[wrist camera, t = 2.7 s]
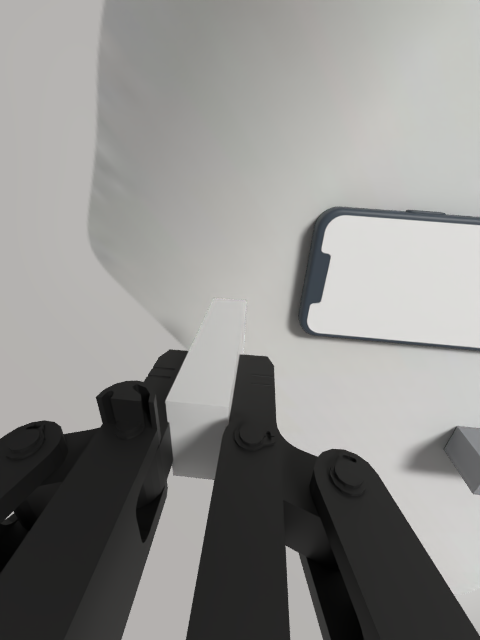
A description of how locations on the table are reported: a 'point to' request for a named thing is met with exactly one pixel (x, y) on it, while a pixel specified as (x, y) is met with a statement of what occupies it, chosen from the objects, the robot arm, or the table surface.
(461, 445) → the grey u-shaped piece
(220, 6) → the table surface
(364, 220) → the smartphone
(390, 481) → the table surface
